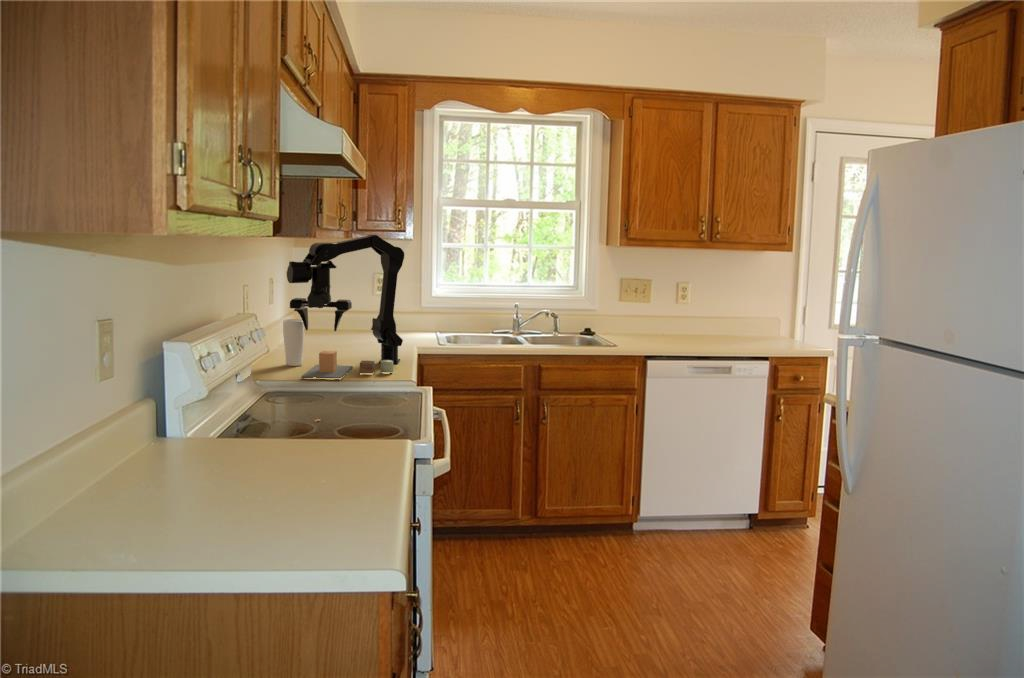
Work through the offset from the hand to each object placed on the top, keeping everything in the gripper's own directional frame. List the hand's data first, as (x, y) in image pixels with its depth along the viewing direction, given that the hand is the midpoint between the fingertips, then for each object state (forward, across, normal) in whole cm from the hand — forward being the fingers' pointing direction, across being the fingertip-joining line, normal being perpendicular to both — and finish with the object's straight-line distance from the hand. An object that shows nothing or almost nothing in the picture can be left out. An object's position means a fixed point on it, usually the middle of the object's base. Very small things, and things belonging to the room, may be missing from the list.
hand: (321, 330), depth 256 cm
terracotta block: (+12, +4, -8) cm, 15 cm away
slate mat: (+12, +4, -8) cm, 15 cm away
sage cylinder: (+13, +22, -4) cm, 26 cm away
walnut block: (+13, +16, -6) cm, 21 cm away
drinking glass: (+13, -10, +4) cm, 17 cm away
